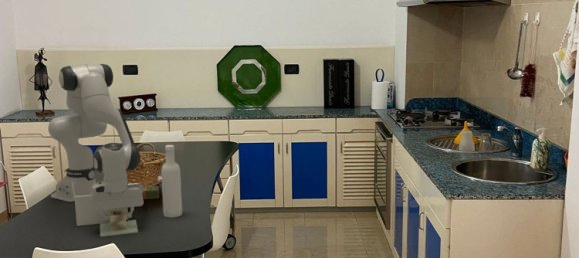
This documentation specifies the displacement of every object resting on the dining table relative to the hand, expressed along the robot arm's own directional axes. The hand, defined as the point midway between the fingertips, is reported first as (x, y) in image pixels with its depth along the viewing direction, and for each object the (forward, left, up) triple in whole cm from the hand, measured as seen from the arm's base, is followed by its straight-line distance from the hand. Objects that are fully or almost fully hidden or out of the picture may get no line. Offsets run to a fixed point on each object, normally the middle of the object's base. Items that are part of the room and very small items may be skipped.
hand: (118, 218), depth 231 cm
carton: (-19, +40, -5) cm, 45 cm away
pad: (0, 0, -4) cm, 4 cm away
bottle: (+11, +22, -4) cm, 25 cm away
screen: (-11, +4, -4) cm, 12 cm away
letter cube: (0, 0, -4) cm, 4 cm away
